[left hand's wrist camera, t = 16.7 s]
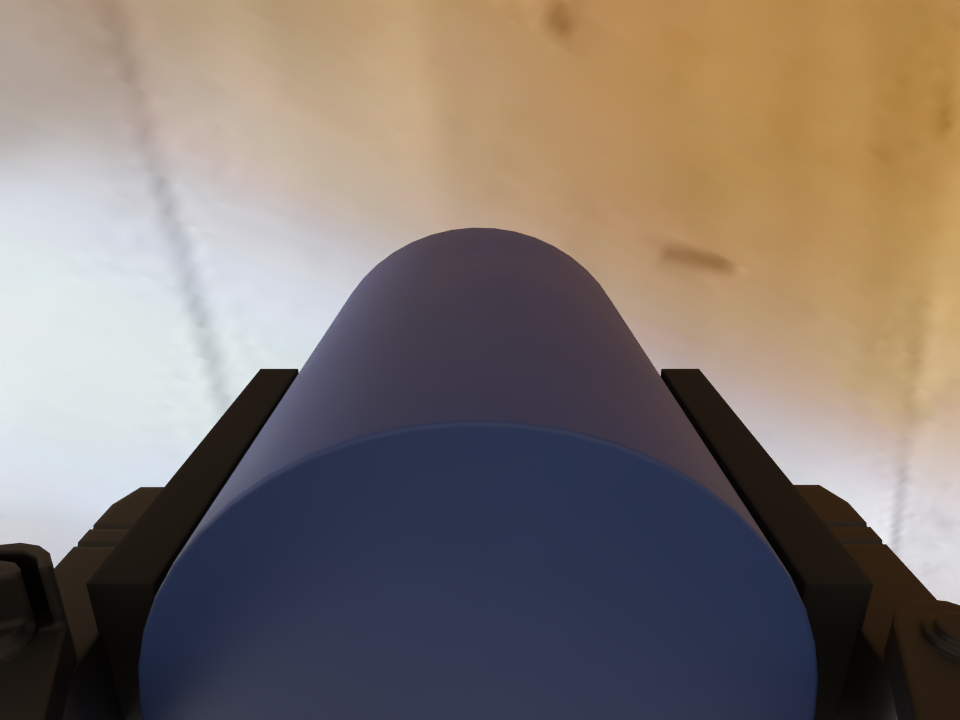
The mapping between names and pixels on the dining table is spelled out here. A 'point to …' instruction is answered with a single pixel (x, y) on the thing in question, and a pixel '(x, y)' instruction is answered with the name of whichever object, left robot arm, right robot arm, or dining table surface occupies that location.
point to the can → (478, 525)
